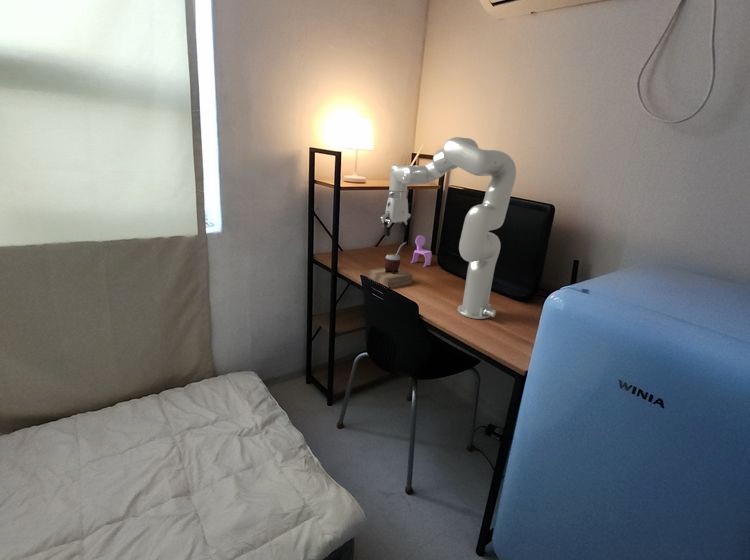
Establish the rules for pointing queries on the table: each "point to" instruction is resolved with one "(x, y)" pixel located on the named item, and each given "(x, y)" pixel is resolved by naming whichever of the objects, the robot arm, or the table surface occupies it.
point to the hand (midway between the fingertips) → (394, 234)
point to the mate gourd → (392, 262)
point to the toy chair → (421, 251)
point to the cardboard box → (391, 277)
